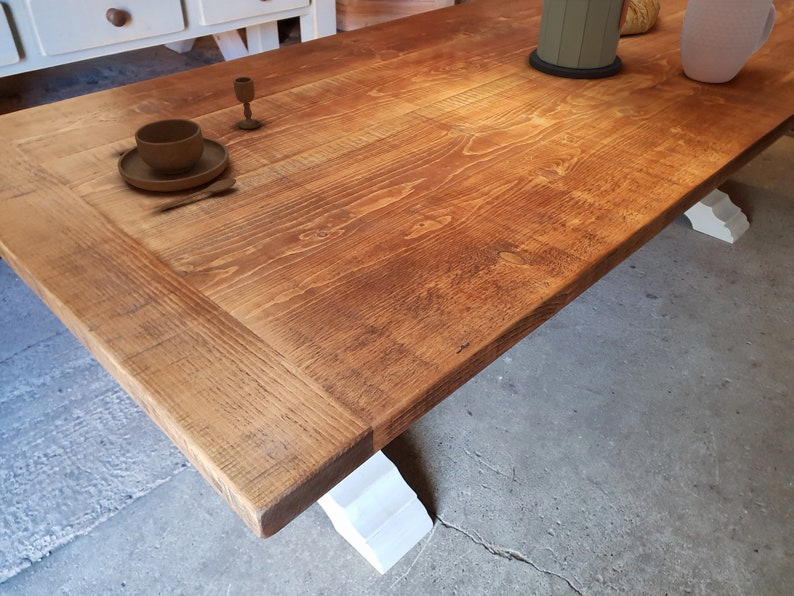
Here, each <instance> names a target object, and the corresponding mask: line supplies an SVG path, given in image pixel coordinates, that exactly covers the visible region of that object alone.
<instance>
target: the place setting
mask: <svg viewBox="0 0 794 596" xmlns="http://www.w3.org/2000/svg"><path fill="white" fill-rule="evenodd" d="M232 82H233V88H234V94H235V97H236V99H237V101H238V102H240V103H241V104H243V105H242V106H243V109H244V110H243V117H244V118H245V119H244V120H242V121H240V122H239V123H238V128H240V130H241V129H242V130H255V129H258V128H259V127H260V126H261V122H260V121H259V120H257V119H252V116H253V111H252V109H251V103H252V102H253V101H254V99H255V93H256V92H255V82H254V79H253V78H252V77H251V76H239V77H235V78H234V79H233V81H232ZM134 139H135V143H136V145H135V146H132V147H131V148H128V149H124V150H121V151H119V152H118V154H119V155H120V154H121V156H120V157H119V159H118V160H117V165H116V166H117V169H118V172H119V174H120V176H121V177H122V179H123V180H124V181H125V182H127V184H129V185H132V186H134V187H136V188H139V189H142V190H146V191H151V192H177V191H178V192H179V191H185V190H189V189H194V188H197V187H199V186H202V185H205V184H206V183H209V182H210V181H212V180H214V179H215V178H216V177H219V175H221V173H223V171H224V170H225V169H226V168H227V165H228V163H229V156H230V155H229V150H228V148H227V146H226V145H225V144H224V143H222V142H221V141H218V140H217V139H213V138H211V137H206V136H203V133H202V127H201V125H199V123H197V122H195V121H193V120H190V119H185V118H166V119H160V120H156V121H152V122H148V123H146V124H144V125H142V126H140V127H139V128H138V129H137V130H136V131H135V132H134ZM236 183H237V180H236V179H235V178H226V179H221V180H217V181H216V182H214V183H212V184H211V185H209V186H208V187H206V188H205V189H202V190H199V191H197V192H194V193H191V194H189V195H186V196H183V197H181V198H178V199H176V200H173V201H170V202H168V203H166V204H164V205H162V206H160V207H159V209H160V210H163V209H167V208H170V207H173V206H175V205H178V204H180V203H183V202H185V201H187V200H190V199H192V198H195V197H198V196H201V195H203V194H207V193H211V194H215V193H217V194H218V193H220V192H224V191H227V190H229V189H230V188H231V187H233V186H234V185H235V184H236Z"/></svg>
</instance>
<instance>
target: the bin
mask: <svg viewBox="0 0 794 596" xmlns="http://www.w3.org/2000/svg"><path fill="white" fill-rule="evenodd" d="M629 2H630V0H543V1H542V9H541V17H540V24H539V33H538V39H537V46H536V49H537V55H538V57H539V58H540V59H541V60H543V61H545V62H547V63H549V64H552V65H556V66H560V67H566V68H575V69H594V68H601V67H605V66H608V65H610V64H612V63H613V62H614V60H615V58H616V55H617V53H618V47H619V43H620V38H621V35H620V34H621V29H622V27H623V25H624V24H625V22H626V17H627V12H628V7H629Z"/></svg>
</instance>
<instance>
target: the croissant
mask: <svg viewBox="0 0 794 596" xmlns="http://www.w3.org/2000/svg"><path fill="white" fill-rule="evenodd" d="M660 11H661V4H660V0H630V2H629V7H628V12H627V17H626V22H625V24H624V25H623V27H622V29H621V34H620V36H621V35H634V34H635V35H636V34H641V33H646V32H647V31H649V29H651V28H653V26H654V25H655V24H656V20H657V19H658V17H659V14H660Z"/></svg>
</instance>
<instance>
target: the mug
mask: <svg viewBox="0 0 794 596" xmlns="http://www.w3.org/2000/svg"><path fill="white" fill-rule="evenodd" d="M773 2H774V0H688V1H687V5H686V8H685V12H684V17H683V21H682V26H681V32H680V39H679V57H680V62H681V63H680V64H681V66H682V69H683V71H684V74H685V75H686V76H687V77H688V78H689V79H691V80H694V81H697V82H700V83H701V82H702V83H708V84H722V83H727V82H729V81H731V80H732V79H733V78H735V76H736V75H738V74H739V72H740V71H741V70H742V69H743V68H744V66H745V65H746V63H747V62H748V61H749V59H750V58H751V56H753V55H755V54H756V53H757V52H759V50H761V48H763V46H764V45H765V44H766V43H767V41H768V39H769V38H770V35H771V34H772V32H773V29H774V26H775V23H776V20H777V19H776V18H777V12H776V11H777V10H776V6H775V5H774V4H773Z"/></svg>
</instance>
